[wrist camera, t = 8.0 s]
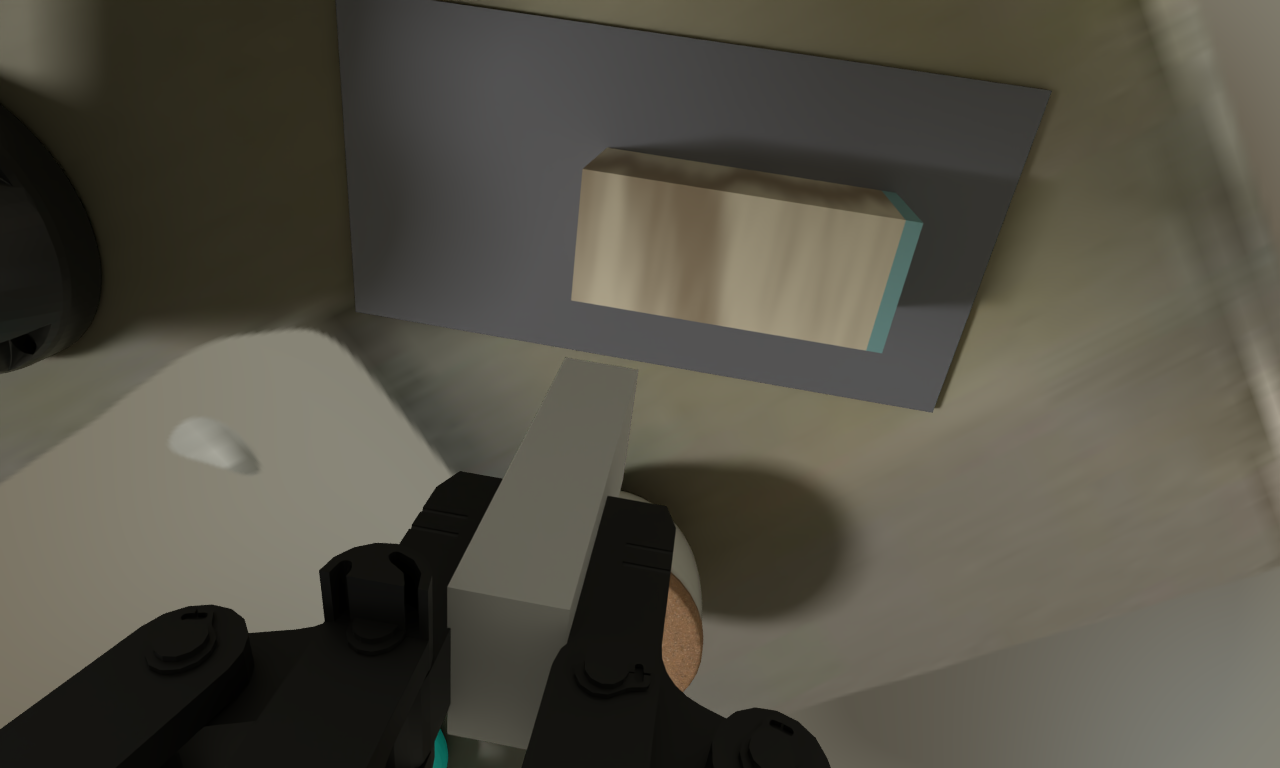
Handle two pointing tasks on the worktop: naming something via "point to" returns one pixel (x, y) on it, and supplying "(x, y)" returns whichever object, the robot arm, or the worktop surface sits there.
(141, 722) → the robot arm
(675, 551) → the lidded jar
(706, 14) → the worktop surface
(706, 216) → the birch block
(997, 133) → the rubber mat
